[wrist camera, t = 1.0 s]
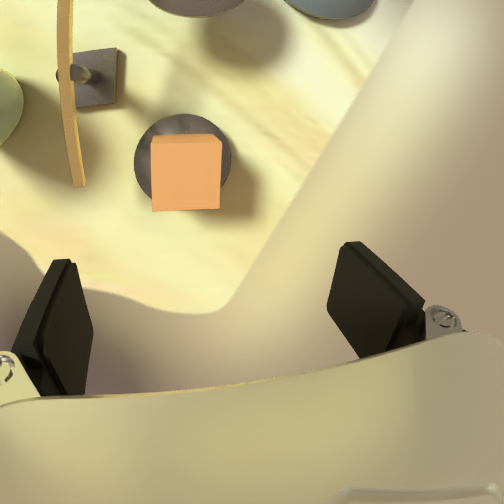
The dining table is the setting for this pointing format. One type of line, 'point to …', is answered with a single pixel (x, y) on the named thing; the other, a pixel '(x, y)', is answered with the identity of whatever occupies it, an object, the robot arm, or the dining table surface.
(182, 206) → the block
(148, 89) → the dining table surface
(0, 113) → the cup
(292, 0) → the dish
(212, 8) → the balance
